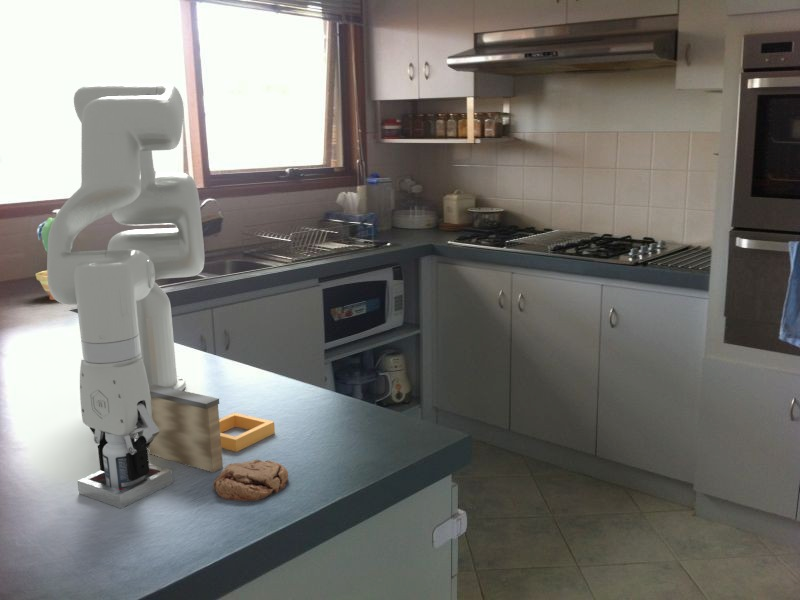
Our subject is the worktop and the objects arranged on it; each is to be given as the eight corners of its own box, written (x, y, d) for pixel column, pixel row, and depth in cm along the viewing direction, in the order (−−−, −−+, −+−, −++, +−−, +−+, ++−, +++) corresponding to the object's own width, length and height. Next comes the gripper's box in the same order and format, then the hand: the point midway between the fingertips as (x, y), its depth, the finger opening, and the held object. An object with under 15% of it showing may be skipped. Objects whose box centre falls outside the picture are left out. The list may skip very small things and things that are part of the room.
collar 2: (196, 441, 130) (195, 429, 130) (235, 423, 137) (234, 412, 137) (236, 451, 125) (235, 439, 125) (274, 433, 133) (274, 421, 132)
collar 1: (79, 493, 112) (77, 480, 112) (131, 470, 119) (130, 457, 119) (121, 508, 107) (119, 494, 107) (172, 483, 115) (171, 470, 114)
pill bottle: (153, 481, 115) (147, 423, 113) (132, 497, 110) (125, 437, 108) (121, 477, 117) (115, 420, 115) (99, 493, 112) (92, 434, 110)
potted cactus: (81, 290, 261) (72, 213, 256) (97, 296, 249) (89, 216, 244) (31, 297, 251) (21, 218, 246) (46, 304, 240) (36, 221, 234)
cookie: (303, 483, 114) (302, 464, 113) (243, 511, 106) (241, 490, 106) (259, 466, 121) (258, 447, 120) (200, 490, 113) (198, 470, 112)
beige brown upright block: (147, 454, 125) (141, 389, 123) (160, 449, 127) (154, 384, 125) (211, 473, 118) (206, 403, 115) (224, 467, 120) (219, 398, 117)
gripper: (49, 348, 111) (64, 469, 115) (130, 365, 102) (144, 496, 105) (95, 335, 117) (108, 451, 121) (176, 350, 108) (187, 475, 112)
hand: (124, 471), depth 113 cm, fingers closed on pill bottle, 5 cm apart
